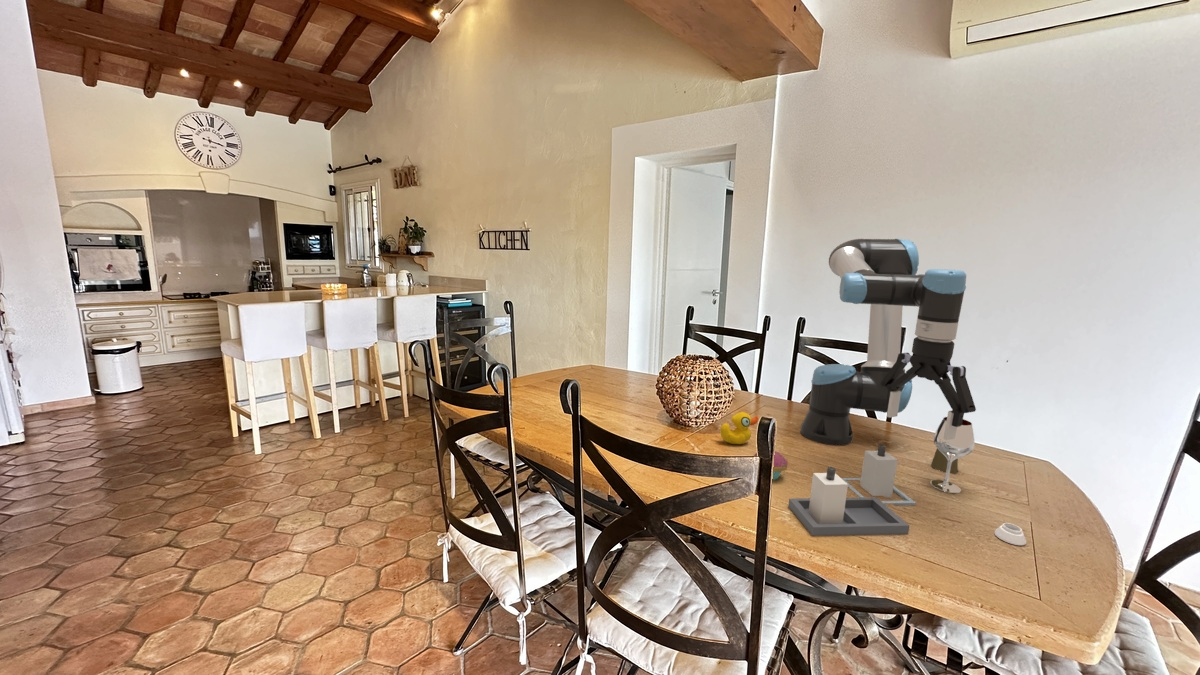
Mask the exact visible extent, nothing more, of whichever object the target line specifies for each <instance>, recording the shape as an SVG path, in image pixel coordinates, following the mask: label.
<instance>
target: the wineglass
mask: <svg viewBox="0 0 1200 675" xmlns="http://www.w3.org/2000/svg"><path fill="white" fill-rule="evenodd" d="M946 421H947V416H943V417H942V420H941V421H940V423H939V425H938V427H937V429H936V430H935V433H934V435H933V444H934V445H935V447H936V449H937V448H938V450H939V451H940V452H941V453H942V454H943V455H944V456H945V457H946V458H947V460H948V464H947V469H946V472H945V476H944V479H943V480H942V479H931V480H930V483H929V484H930V486H932V487H933V488H935V489H937V490H939V491H941V492H945V493H948V494H960V493H961V492H962V489H961V488H960V487H959V486H958V485H956V484H955V483H952V482H950V481H949V479H950V474H951V473H950V469H951V464H952V462H953V461H954V460H955V459H958V460H959V459H961V458H963V457H966V456H968V455H969V454H971V453H972V452H973V451H974V449H975V446H976V445H975V436H974V435H975V434H974V428H973V423H972V422H971V421H969V420H967V419H965V418H963V421H962V425H961V426H959V427H957V431H956V436H955V439H950V440H945V439H943V437H944V432H945V427H946Z"/></svg>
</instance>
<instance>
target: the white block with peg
mask: <svg viewBox="0 0 1200 675" xmlns="http://www.w3.org/2000/svg"><path fill="white" fill-rule="evenodd" d="M898 461H899V460H898V459H897V458H896V457H894V456H893V455H891V454H890V453H889V452H887V446H886V445H884V444H878V447H877V450H864V454H863V461H862V469H861V476H860V478H861V480H859V486H860V487H861V488H863V490H865V491H866V492H867V493H869V494H870V495H871V496H872V497H881V496H882V497H884V498H886V499H887V498H890V499H891V498H893V492H894V491H893V486H895V485H894V484H895V478H896V473H897V468H898V467H897V466H898Z"/></svg>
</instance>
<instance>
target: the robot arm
mask: <svg viewBox="0 0 1200 675" xmlns="http://www.w3.org/2000/svg"><path fill="white" fill-rule="evenodd" d="M919 257H920V256H919V251H918V248H917V245H916V244H915V243H914V241H912V240H910V239H899V238H894V239H893V238H890V239H889V238H888V239H887V238H883V239H882V238H855V239H851V240H847V241H845V242H843V243H840V244H839V245H838V246H836V247H835V248H833V250H832V251H831V252H830V255H829V258H828V266H829V268H830V270H831V272H832V273H833V274H834V275H836V276H837V277H839V278H840V285H839V299H840V300H841V302H843V303H847V304H848V303H849V304H855V305H859V304H861V305H870V308H869V325H868V341H867V356H866V358H867V359H866V362H865V363H863V364H862V365H861V366H860V371H857V370H856V368H855V367H854V366H852V365H849V364H841V363H831V364H823V365H820V366H817V367H816V368H815V369H814V371H813V374H812V379H811V389H810V398H809V407H808V411H807V412H806V415H805V417H804V419H803V421H802V423H801V425H800V434H801V435H802V436H803V437H804V438H806V439H808V440H810V441H813V442H816V443H819V444H823V445H829V446H847V445H849V444H852V442H853V438H854V432H853V428H852V424H851V420H850V411H851V409H855V410H863V411H871V412H872V411H873V412H880V413H886V417H887V418H895V417H898V414H899V413H901V412H903V411H904V410H905V409H906V408H907V407H908V404H909V402H910V400H911V396H912V391H913V383H912V382H913V379H914V378H916V377H917V378H920V379H921V378H922V379H923V378H924V379H926V380H928V381H933V382H934V383H935V385H938V388H939V389H940V391H941V392H942V394H943V396H944V398H945V400H946V401H947V403H948V405H949V406H950V409H951V410H948V411H947V416H946V417H947V421H946V427H945V432H944V437H943V439H945V440H950V439H955V436H956V431H957V427H959V426H961V425H962V421H963V419H964V415H965V414H969V413H974V412H976V411H977V407H976V405H975V402H974V398H973V396H972V393H971V390H970V386H969V384H968V380H967V377H966V374H967V368H966V366H964V365H962V366H961V365H960V366H958V365H957V366H956V365H952V364H951V360H952V358H953V354H954V348H955V342H954V340H956V339H957V338H956V337H957V332H958V326H959V320H960V314H961V310H962V306H963V301H964V300H963V299H964V295H965V291H966V288H967V286H966V283H967V274H966V272H965V271H963V270H958V269H946V268H944V269H943V268H942V269H941V268H939V269H938V268H933V269H932V268H931V269H927V270H926V271H925V273H924V274H920V273H919V274H917V273H918V269H919V268H918V267H919V264H920V258H919ZM916 274H917V275H916ZM903 306H904V307H918V311H917V319H916V323H915V324H916V325H915V331H914V335H915V336H916V337H915V338H913V342H912V348H911V352H912V355H911V354H910V353H909V352H901V342H902V322H903V309H904V308H903ZM909 363H910V365H911V367H910V368H909V369H907V370H906V369H905V367H906V366H907V365H908V364H909ZM948 373H949V374H948ZM949 375H951V377H952V380H951V378H950V376H949ZM952 382H953V384H954V386H953V384H952Z"/></svg>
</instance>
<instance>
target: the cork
mask: <svg viewBox="0 0 1200 675" xmlns="http://www.w3.org/2000/svg"><path fill="white" fill-rule="evenodd" d="M958 461H959V458H958V459H955V460H954V461H953V462H952V464H951V469H950V474H957V473H958V471H959V470H958V469H959V468H958V466H959V462H958ZM947 464H948V460H947V458H946V457H945V456H944V455H943V454H942V453H941V452H940V451H939V450H938V448H937V447H936V450H935V453H934V455H933V458H932V461H931V465H930V466H931V467H932V468H933V467H934V468H933V469H935V470H937V471H939V470H940V472H942V471H943V473H946V469H947ZM956 472H957V473H956Z"/></svg>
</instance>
